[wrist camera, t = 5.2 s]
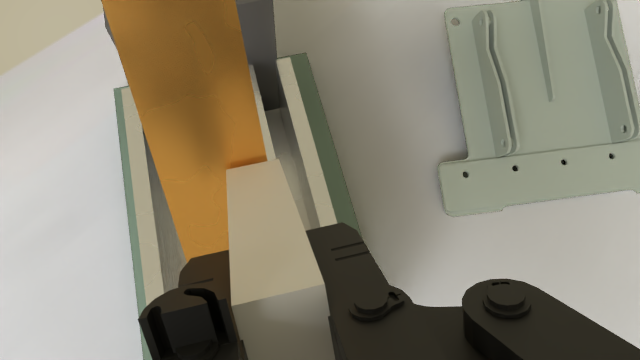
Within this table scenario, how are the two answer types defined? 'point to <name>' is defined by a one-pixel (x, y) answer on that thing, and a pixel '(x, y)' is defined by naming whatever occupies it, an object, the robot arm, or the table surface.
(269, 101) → the slotted lug
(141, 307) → the grey green railed plate
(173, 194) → the strap
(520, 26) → the metal bracket
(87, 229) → the table surface
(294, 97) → the heat sink
